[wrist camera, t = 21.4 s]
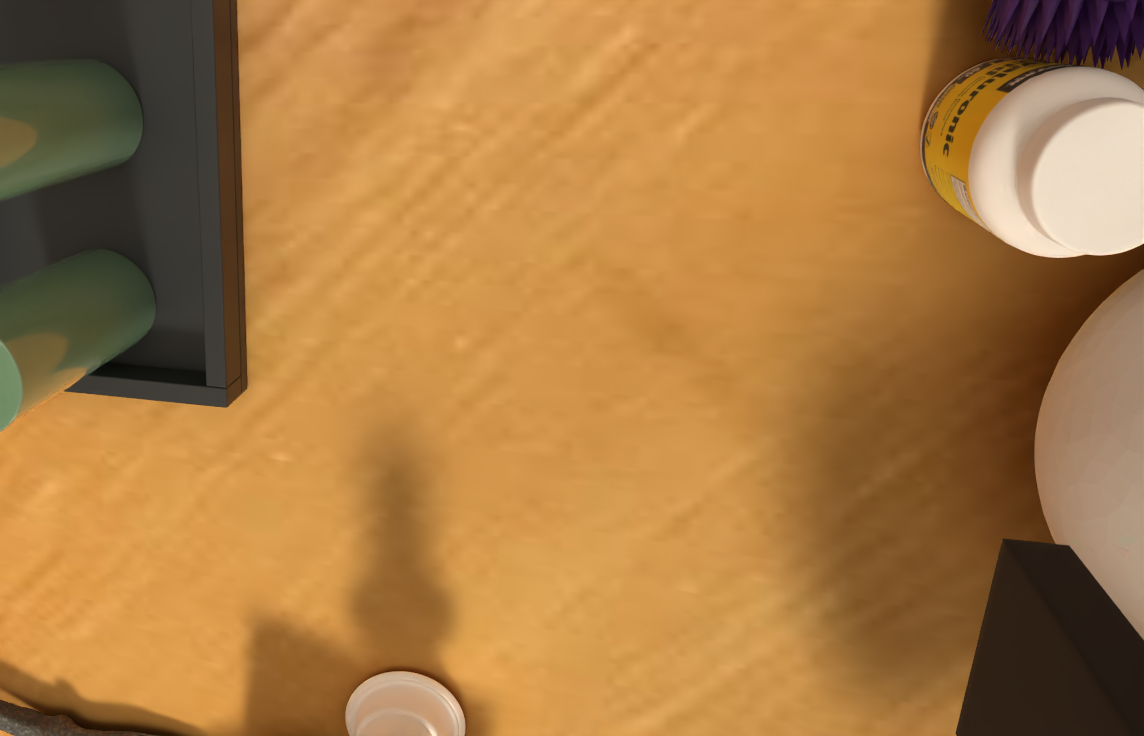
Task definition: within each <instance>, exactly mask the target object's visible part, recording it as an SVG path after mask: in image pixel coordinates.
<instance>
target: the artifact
mask: <svg viewBox="0 0 1144 736" xmlns="http://www.w3.org/2000/svg"><path fill="white" fill-rule="evenodd" d="M0 730H2V731H5V732H7V733H9V734H12V735H14V736H159V735H149V734H145V733H139V732H134V731H101V730H89V729H85V728H82V727H79V726H78V725H76V724H75V723H74V722H73V720H72V719H71V718H70V717H69V716H68V715H64V714H60V715H56V716H48V715H45V714H42V713H40V712H38V711H35V710H32V709H29V708H25V707H20V706H17V705H14V704H12V703H8V702H5V701H2V700H0Z"/></svg>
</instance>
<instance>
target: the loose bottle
mask: <svg viewBox="0 0 1144 736" xmlns="http://www.w3.org/2000/svg"><path fill="white" fill-rule="evenodd" d="M155 313H156V302H155V296H154V292H153V289H152V287H151V284H150V283H149V281H148V279H147V277H146V276H145V274H144V273H143V272H142V271H141V270H140V268H139V267H138V266H137V265H135V264H134V263H133V262H132V261H130V260H129V259H128V258H126V257H124V256H122V255H120V254H118V253H116V252H113V251H109V250H105V249H87V250H83V251H80V252H78V253H75V254H73V255H71V256H68V257H66V258H64V259H61V260H59V261H57V262H54V263H52V264H49V265H47V266H45V267H42V268H40V269H38V270H35V271H33V272H31V273H28V274H26V275H24V276H21V277H19V278H17V279H14V280H12V281H9V282H7V283H5V284H2V285H0V432H1V431H3V430H4V429H6V428H7V427H9V426H10V425H12V424H13V423H15V422H17V421H18V420H20V419H21V418H23V417H24V416H26V415H27V414H29V413H30V412H32V411H33V410H35V409H37V408H38V407H40V406H41V405H43V404H44V403H46V402H47V401H49V400H50V399H52V398H53V397H55V396H56V395H58V394H60V393H61V392H63V391H64V390H66V389H67V388H69V387H70V386H72V385H73V384H75V383H76V382H78V381H80V380H81V379H83V378H84V377H86V376H87V375H89V374H90V373H92V372H93V371H95V370H96V369H98V368H100V367H101V366H103V365H104V364H106V363H107V362H109V361H110V360H112V359H113V358H115V357H116V356H118V355H120V354H121V353H123V352H124V351H126V350H127V349H129V348H130V347H132V346H133V345H135V344H136V343H138V342H139V341H141V340H142V339H143V338H144V337H145V336H146V335H147V333H148V332H149V330H150V329H151V327H152V325H153V322H154V319H155Z"/></svg>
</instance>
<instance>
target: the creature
mask: <svg viewBox="0 0 1144 736" xmlns="http://www.w3.org/2000/svg"><path fill="white" fill-rule="evenodd" d="M993 12H994V14H993ZM992 14H993V17H992V20H991V23H990V27H989V30H988V33H987V36H986V39H987V37H988V35H989V33H990V36H989V39H988V42H989V40H990V38H991V40H992V39H993V37H994V35H995V33H996V31H997V34H996V38H995V41H996V44H995V48H996V46H997V44H998V42H999V44H998V47H999V45H1000V43H1001V41H1002V39H1003V37H1004V35H1005V37H1004V42H1003V47H1002V51H1003V49H1004V47H1005V45H1006V43H1007V41H1008V39H1009V37H1010V40H1009V45H1008V51H1007V55H1008V53H1009V51H1010V49H1011V52H1012V50H1013V47H1014V45H1015V46H1016V44H1017V42H1018V40H1019V44H1018V51H1017V58H1016V61H1017V59H1018V56H1019V54H1020V52H1021V50H1022V48H1023V46H1024V49H1023V57H1022V61H1023V59H1024V57H1025V55H1026V59H1027V57H1028V55H1029V53H1030V50H1031V48H1032V46H1033V44H1034V42H1035V50H1034V54H1035V60H1034V64H1036V62H1037V60H1038V57H1039V55H1040V53H1041V58H1040V61H1042V60H1043V58H1044V55H1045V53H1046V65H1047V64H1048V61H1049V59H1050V56H1051V54H1052V52H1053V49H1054V47H1055V63H1058V61H1059V59H1060V56H1061V63H1062V62H1063V60H1064V57H1065V54H1066V51H1068V53H1069V64H1072V62H1073V59H1074V56H1075V54H1076V59H1077V65H1080V64H1081V61H1082V58H1083V65H1084V62H1085V59H1086V56H1087V53H1088V50H1089V47H1090V46H1091V47H1092V54H1093V62H1094V67H1096V66H1097V63H1098V60H1099V56H1100V61H1101V67H1102V69H1103V67H1104V64H1105V60H1106V57H1107V61H1108V59H1109V55H1110V60H1112V57H1113V53H1114V50H1115V46H1117V51H1118V56H1119V60H1120V65H1121V69H1122V67H1123V63H1124V59H1125V58H1126V62H1127V66H1128V67H1129V62H1130V57H1131V53H1132V55H1133V53H1134V48H1135V44H1136V48H1137V51H1138V55H1139V58H1140V59H1141V54H1142V49H1143V47H1144V0H993V1H992V4H991V7H990V10H989V13H988V16H987V19H986V22H985V25H984V28H983V31H984V29H985V27H986V25H987V23H988V21H989V20H990V18H991V16H992ZM997 29H998V30H997ZM983 31H982V33H983ZM990 31H991V32H990ZM981 35H982V34H981ZM991 36H992V37H991ZM986 39H985V41H986ZM996 39H997V40H996ZM990 42H991V41H990ZM994 43H995V42H994ZM987 44H988V43H987ZM1011 47H1012V48H1011ZM995 48H994V49H995ZM1014 48H1015V47H1014ZM997 49H998V48H997ZM1002 51H1001V53H1002ZM1006 57H1007V56H1006Z"/></svg>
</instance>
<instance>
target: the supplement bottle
mask: <svg viewBox="0 0 1144 736" xmlns="http://www.w3.org/2000/svg"><path fill="white" fill-rule="evenodd" d="M1034 60H1035V59H1030V58H1027V59H1026V58H1024V59H1023V61H1022V58H1018V59H1017V61H1016V58H1001V59H995V60H991V61H987V62H984V63H981V64H978V65H976V66H973V67H971V68H970V69H968V70H966V71H964V72H963V73H961V74H960V75H958V76H957V77H956V78H954V79H953V80H952V81H951V82H950V83H948V84H947V85H946V86H945V87H944V88H943V90H942V91H941V92H940V93H939V94H938V96H937V97H936V98H935V100H934V101H933V103H932V105H931V107H930V108H929V111H928V113H927V115H926V117H925V120H924V123H923V127H922V130H921V137H920V155H921V161H922V165H923V169H924V171H925V174H926V176H927V178H928V180H929V182H930V184H931V185H932V187H933V188H934V190H935V191H936V192H937V193H938V194H939V195H940V196H941V197H942V198H943V199H944V200H945V201H946V202H947V203H948V204H949V205H951V206H952V207H954V208H955V209H956V210H958V211H959V212H961V213H962V214H964V215H965V216H967V217H968V218H970V219H971V220H973V221H974V222H976V223H977V224H979V225H980V226H982V227H983V228H985V229H986V230H988V231H989V232H991V233H992V234H994V235H995V236H997V237H998V238H999V239H1001V240H1003V241H1004V242H1006V243H1007V244H1009V245H1011V246H1013V247H1015V248H1017V249H1020V250H1022V251H1024V252H1027V253H1030V254H1033V255H1038V256H1043V257H1051V258H1067V257H1076V256H1081V255H1086V254H1088V255H1111V254H1117V253H1121V252H1125V251H1128V250H1131V249H1133V248H1135V247H1138V246H1140V245H1142V244H1144V90H1143V89H1142V88H1140V87H1139V86H1138V85H1137V84H1136V83H1134V82H1133V81H1131V80H1129V79H1127V78H1126V77H1124V76H1122V75H1119V74H1117V73H1114V72H1111V71H1107V70H1104V69H1101V68H1096V67H1090V66H1083V65H1073V64H1066V63H1059V62H1058V63H1055V62H1051V61H1048V64H1047V65H1046V61H1045V60H1042V61H1040V60H1037V62H1036V64H1034Z"/></svg>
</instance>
